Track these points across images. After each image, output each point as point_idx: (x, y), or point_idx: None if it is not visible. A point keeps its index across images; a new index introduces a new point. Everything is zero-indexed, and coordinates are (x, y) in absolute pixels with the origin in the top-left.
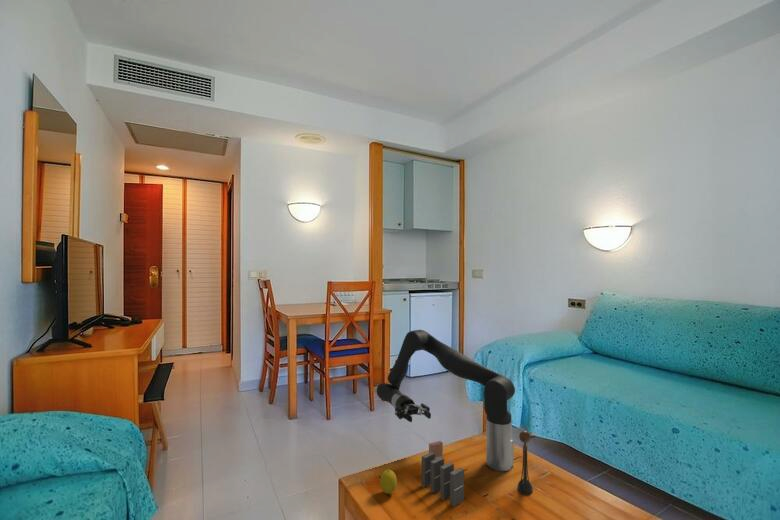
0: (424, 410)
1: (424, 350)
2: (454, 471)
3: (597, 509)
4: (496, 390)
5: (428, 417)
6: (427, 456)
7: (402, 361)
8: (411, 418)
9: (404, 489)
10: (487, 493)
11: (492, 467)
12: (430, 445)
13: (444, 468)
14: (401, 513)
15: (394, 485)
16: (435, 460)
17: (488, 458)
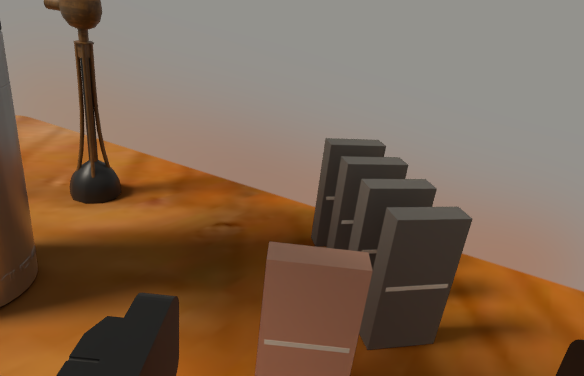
0: None
1: None
2: (366, 144)
3: (53, 131)
4: None
5: (172, 369)
6: (439, 208)
7: None
8: (580, 352)
9: (527, 358)
10: (214, 225)
11: (35, 268)
12: (369, 261)
13: (394, 158)
14: (544, 279)
15: None
16: (410, 184)
17: (18, 255)
